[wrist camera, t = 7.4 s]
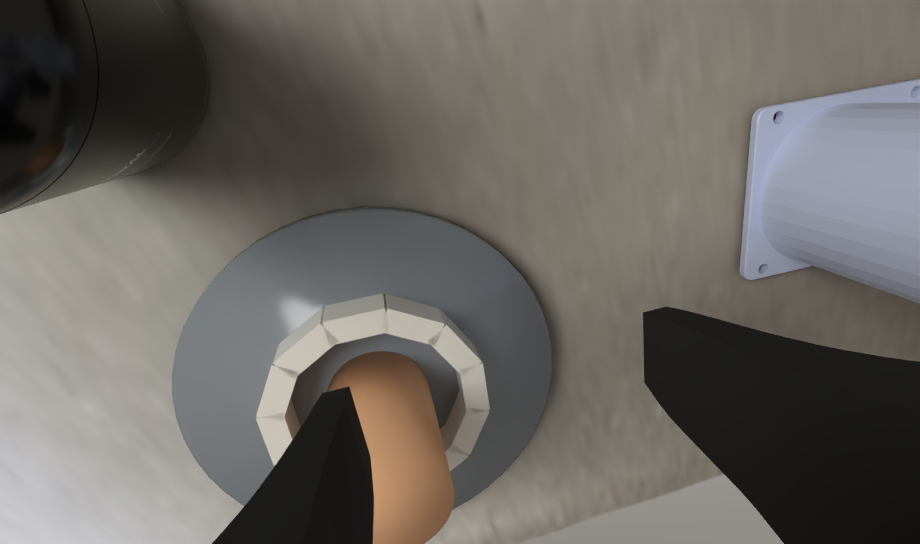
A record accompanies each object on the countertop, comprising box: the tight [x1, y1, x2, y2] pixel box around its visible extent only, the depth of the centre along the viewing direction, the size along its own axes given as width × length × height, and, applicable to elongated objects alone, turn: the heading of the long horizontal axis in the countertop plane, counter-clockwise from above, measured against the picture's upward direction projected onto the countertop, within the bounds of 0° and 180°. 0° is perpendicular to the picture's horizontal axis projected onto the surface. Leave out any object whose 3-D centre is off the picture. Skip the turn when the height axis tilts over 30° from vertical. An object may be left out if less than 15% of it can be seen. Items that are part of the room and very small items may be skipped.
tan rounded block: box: [327, 351, 455, 544], centre depth 17 cm, size 4×4×6 cm
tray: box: [172, 207, 552, 510], centre depth 20 cm, size 16×16×2 cm
